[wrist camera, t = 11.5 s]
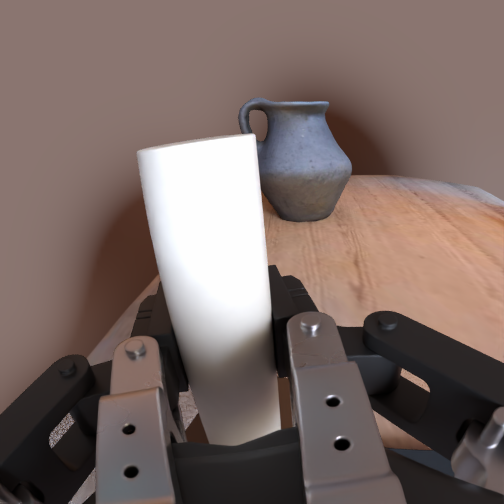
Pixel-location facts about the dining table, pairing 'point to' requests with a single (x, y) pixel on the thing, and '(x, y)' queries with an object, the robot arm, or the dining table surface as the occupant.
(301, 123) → the pitcher
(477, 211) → the dining table surface
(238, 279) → the tall white pillar
